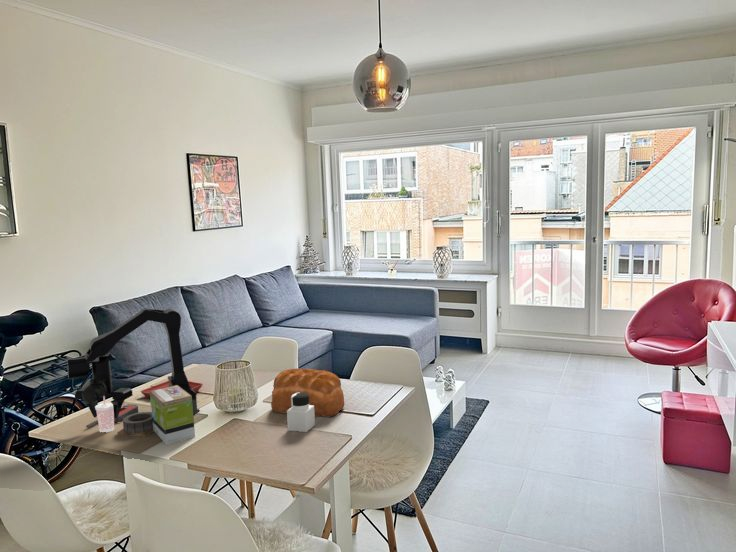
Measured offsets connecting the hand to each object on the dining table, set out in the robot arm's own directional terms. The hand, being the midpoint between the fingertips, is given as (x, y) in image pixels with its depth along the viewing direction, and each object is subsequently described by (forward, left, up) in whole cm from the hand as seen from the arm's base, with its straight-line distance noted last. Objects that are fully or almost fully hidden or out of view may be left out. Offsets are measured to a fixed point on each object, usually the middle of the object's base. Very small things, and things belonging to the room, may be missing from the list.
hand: (105, 417), depth 197 cm
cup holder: (-12, -1, -5) cm, 13 cm away
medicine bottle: (-68, -9, -5) cm, 69 cm away
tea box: (-26, +1, -5) cm, 26 cm away
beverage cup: (0, 0, -5) cm, 5 cm away
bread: (-65, -27, -5) cm, 70 cm away
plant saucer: (-3, -39, -5) cm, 39 cm away
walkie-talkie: (+4, -9, -5) cm, 11 cm away
